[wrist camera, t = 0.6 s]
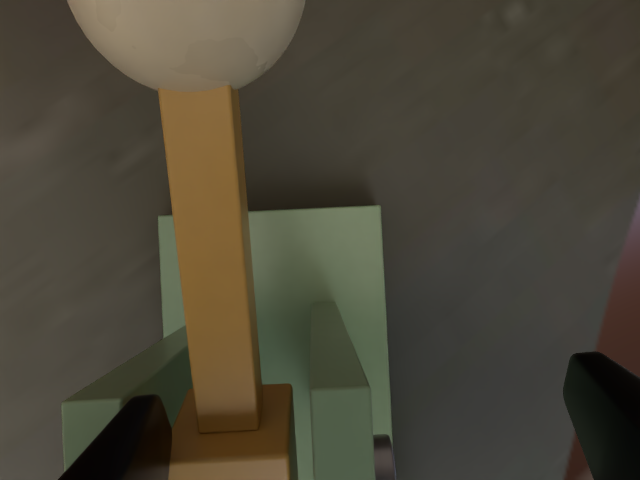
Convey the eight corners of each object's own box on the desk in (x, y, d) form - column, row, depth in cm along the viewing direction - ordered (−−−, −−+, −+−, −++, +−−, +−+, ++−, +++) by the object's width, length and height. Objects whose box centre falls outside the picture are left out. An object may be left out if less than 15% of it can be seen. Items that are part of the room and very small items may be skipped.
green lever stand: (165, 217, 22) (-78, 171, 8) (377, 206, 22) (482, 144, 8) (178, 501, 22) (-46, 929, 8) (391, 489, 22) (521, 891, 8)
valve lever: (97, -109, 9) (-30, -239, 6) (301, -117, 9) (300, -251, 6) (176, 482, 12) (124, 632, 9) (329, 473, 12) (339, 619, 9)
